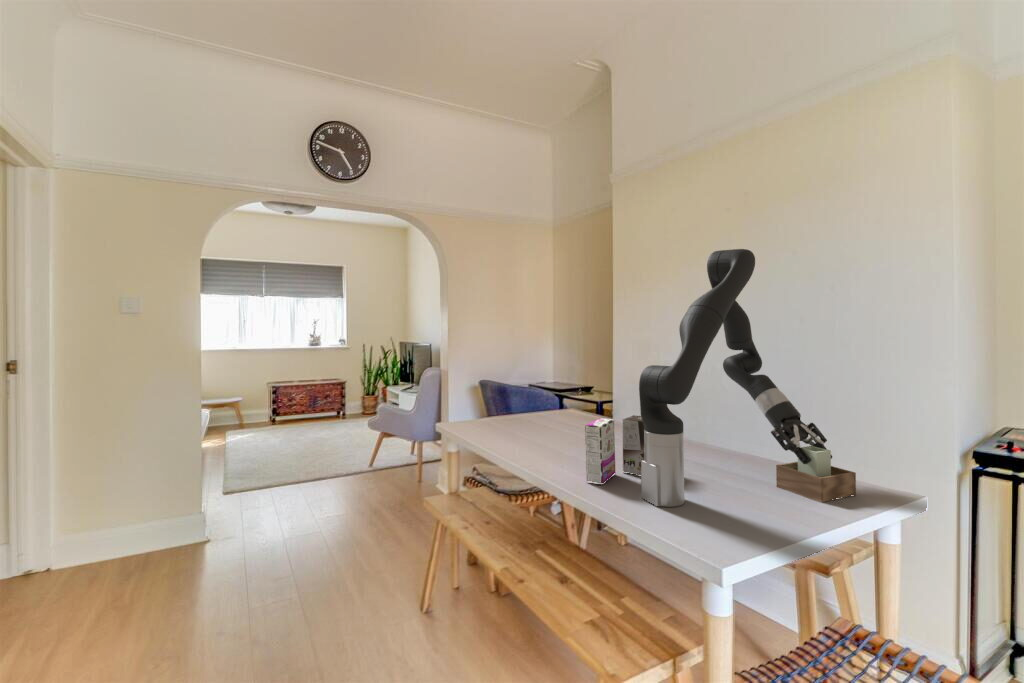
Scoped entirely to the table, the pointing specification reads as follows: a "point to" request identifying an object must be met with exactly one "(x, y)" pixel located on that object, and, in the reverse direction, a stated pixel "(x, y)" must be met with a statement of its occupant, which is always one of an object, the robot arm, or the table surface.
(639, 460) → the coffee box
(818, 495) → the walnut crate
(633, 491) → the table surface
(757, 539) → the table surface
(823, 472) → the green square vase
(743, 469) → the table surface
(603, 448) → the candy bar box
